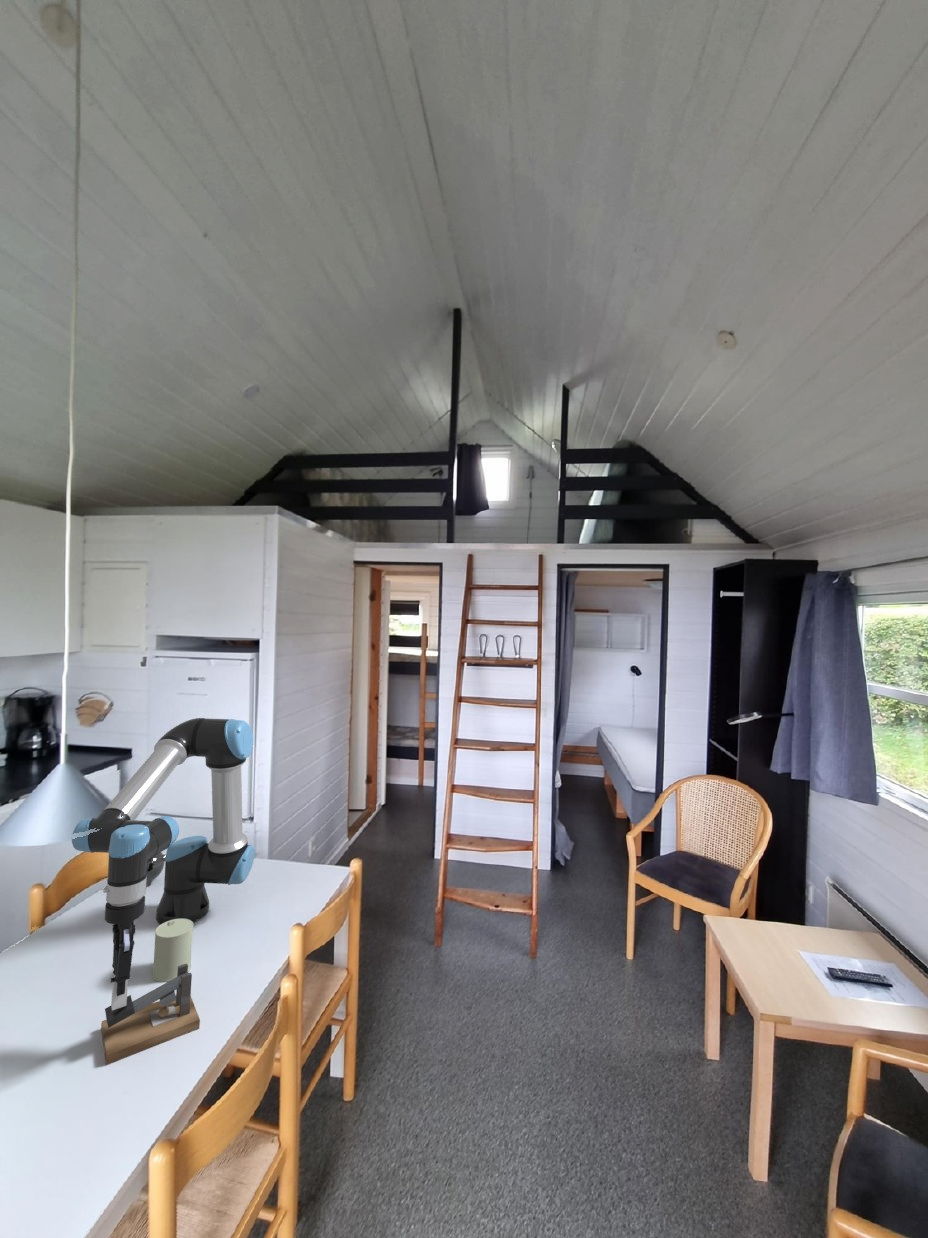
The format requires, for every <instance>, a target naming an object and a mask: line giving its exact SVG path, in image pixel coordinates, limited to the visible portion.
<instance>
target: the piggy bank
mask: <svg viewBox="0 0 928 1238" xmlns="http://www.w3.org/2000/svg"><path fill="white" fill-rule="evenodd" d="M165 859H166V854H163V853H162V852H161V853H159V854H157V855H156V856H155V857H153V858H152V859H151V860H149V861H148V863H147V882H146V888H147V887H150V886H151V885H152V882H153V881H154V880H155V879H157V878H158V877H159V876H160V875H161V874H162V872H163V869H164V868H165Z"/></svg>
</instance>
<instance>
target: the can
mask: <svg viewBox="0 0 928 1238" xmlns="http://www.w3.org/2000/svg"><path fill="white" fill-rule="evenodd" d="M193 931H194V922H192V921H191V920H189V919H174V920H170V921H167V922H165V923H163V924H160V925H158V926H157V927H156V928H155V931H154V953H153V968H152V974H151V977H152V979H153V980H154V981H157V982H160V983H167V982H169V981H170V980H172V979H174V978H176V977H177V973H178V966H180V965H183V964H186V963H187V964H188V973H190V972H191V971H190V970H191V969H192V948H193V947H192V946H193V945H192V944H193Z"/></svg>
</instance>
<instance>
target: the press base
mask: <svg viewBox="0 0 928 1238" xmlns="http://www.w3.org/2000/svg"><path fill="white" fill-rule="evenodd" d="M183 971H188V964H187V963H186V964H183V965H180V966H178V973H177V977H178V975H179V974H180V973H181V972H183ZM192 976H193V974H192V972H188V974H185V975H182V976H181V987H180V988H178V989H177V990H175V992H176V993H175V995H176V999H177V1000H175V1001H173V1002H172V1003H170V1004H168V1005H166V1006H165V1007H163V1008H162V1005H161V1002H160V1000H159V1001H158V1000H157V1001H155V1002H154V1003H152V1004H150V1005H148V1006H147V1007H145V1008H143V1009H141V1010H140V1011H138V1012H136V1013H134V1014H133V1015H131V1016H129V1017H127V1018H125V1019H124V1020H122V1021H120V1022H118V1023H117V1024H115V1025H113V1026H111V1027H110V1028H108V1024H107V1019H104V1020H102V1021H101V1023H100V1024H101V1027H100V1031H101V1038H102V1046H103V1053H104V1059H105V1066H107V1065H110V1064H114V1063H115V1062H118V1061H120V1060H123V1059H125V1058H128V1057H130V1056H133V1055H136V1054H138V1053H141V1052H143V1051H146V1050H148V1049H151V1048H153V1047H156V1046H159V1045H160V1044H161V1045H162V1044H163V1043H166V1042H168V1041H172V1040H174V1039H176V1038H178V1037H181V1036H183V1035H186V1034H189V1033H191V1032H193V1031H196V1030H198V1029H200V1024H201V1023H200V1022H201V1019H200V1017H199V1014H198V1012H197V1011H198V1010H197V1009H196V1006H195V1004H194V1003H195V1002H194V1001H193V998H192V996H191V995H192V980H193V979H192V978H193V977H192Z"/></svg>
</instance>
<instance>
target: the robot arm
mask: <svg viewBox="0 0 928 1238" xmlns="http://www.w3.org/2000/svg"><path fill="white" fill-rule="evenodd" d="M253 745H254V732H253V729H252V727H251V726H250V724H249V723H248V722H247V721H245V720H240V719H234V718H229V719H227V718H205V717H199V718H198V717H197V718H192V719H189V720H185V721H184V722H181V723H180V724H178V725H176V726H173V728H171V729H170V730H169V731H167V732H166V733H164V735H163V736H162V737H160V738H159V739H158V741H157V742H156V743H155V745H154V746H153V752H152V753H151V754H150V756H148V758H147V759H146V760H145V761H144V762H143V764H142V765H141V766H140V768H138V770H137V771H135V773H134V774H133V776H131V778H130V779H129V780H128V781H127V783H125V784H124V786H123V787H122V788H121V790H120V791H119V792H118V793H117V794H116V795H115V796H114V798H113V799H112V800H111V801H110V802H111V803H112V804H111V803H110V802H109V803H108V805H106V807H105V808H104V809H103V810H102V811H101V812H100V814H99V815H98V816H97V817H87V818H84V819H83V820H82V819H81V820H80V821H79V822H78V823H77V824H76V826H75V827H74V829H73V832H72V834H74V833H79V832H85V831H88V830H90V829H94V828H96V829H95V830H97V829H100V830H99V831H97V832H93V833H90V834H89V835H86V836H83V837H77V838H75V839H72V838H71V844H72V847H73V848H74V850H75V851H80V852H84V853H85V852H87V853H92V854H93V853H106V854H108V863H107V865H108V866H107V867H108V868H107V880H106V881H107V883H106V884H107V885H106V887H105V888H103V893H104V894H105V893H106V895H105V900H106V903H105V908H104V909H105V910H104V921H105V922H106V923H108V924H110V925H112V934H113V936H112V942H113V949H112V950H113V951H112V952H113V953H112V965H111V966H112V969H113V971H112V975H113V977H111V978H110V983H111V984H112V986H111V987H112V991H111V1003H110V1004H111V1005H110V1006H111V1008H112V1010H115V1009H118V1008H121V1007H124V1006H126V1003H127V996H128V985H129V980H130V979H131V978H130V977H131V969H132V959H133V950H134V946H135V940H134V938H135V937H134V936H135V934H136V924H135V922H134V921H136V920H137V919H139V918H141V917H142V916H143V914H144V913H145V909H146V905H145V904H146V896H145V895H147V887H146V882H147V863H148V861H149V860H151V859H152V858H153V857H155V856H156V855H157V854H159V853H162V852H163V851H166V859H165V863H164V884H163V886H164V887H163V893H162V895H161V899H160V901H159V903H158V906H157V908H156V912H155V920H156V922H157V923H158V924H160V925H161V924H163V923H165V922H167V921H170V920H174V919H189V920H191V921H192V922H193V923H194V922H197V921H198V920H200V919H202V918H203V917H205V916H206V915H207V914H208V912H209V911H210V898H209V896H208V893H207V889H206V886H205V884H217V885H218V884H222V885H228V886H229V885H240V884H243V883H244V882H245V881H246V880H247V879H248V876H249V875H250V873H251V870H252V868H253V864H254V861H255V855H256V848H255V846H254V845H252V844H249V843H248V836H247V835H246V834H245V833H243V797H242V796H243V795H242V794H243V793H242V792H243V788H242V766H243V765H244V764H246V761H247V758H249V757H250V756H251V754H252V753H253V752H252V751H253V748H254V747H253ZM191 757H201V758H205V766H206V767H207V768H208V769H210V773H211V775H210V776H211V803H212V804H211V806H212V810H211V811H212V812H211V813H212V839H211V840H210V841H209V840H208V838H207V836H204V835H192V836H188V837H184V838H181V839H178V837H179V834H180V825H179V824H178V822H177V820H176V819H175V818H173V817H171V816H168V815H163V816H160V817H157V818H154V819H152V820H136V819H137V818H138V816H139V815H140V814H141V813H142V811H143V810H144V809H145V807H146V806H147V805H148V803H150V800H151V799H152V798H153V797H154V795H156V794H157V792H158V791H159V790H160V789H161V787H162V786H163V784H164V783H165V782H166V780H167V779H168V777H169V776H171V773H172V772H173V771H174V770H175V768H176V767H177V766H179V765H183V763H185V761H186V760H187V759H188V758H191ZM121 812H122V813H123V816H122V817H121ZM101 828H102V829H101ZM177 839H178V840H177Z"/></svg>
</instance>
